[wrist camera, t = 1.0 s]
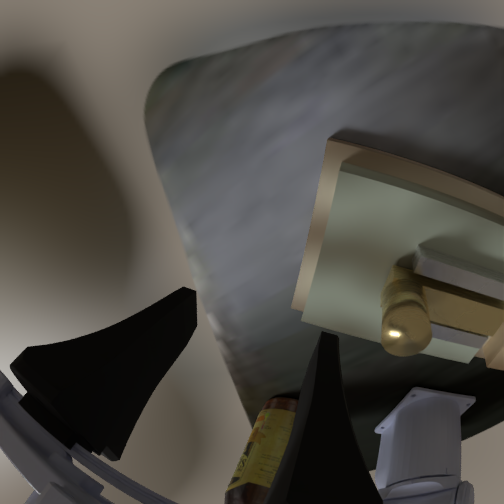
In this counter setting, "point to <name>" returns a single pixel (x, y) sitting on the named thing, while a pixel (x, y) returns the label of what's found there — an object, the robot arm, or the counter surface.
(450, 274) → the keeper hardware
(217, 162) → the counter surface
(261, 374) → the counter surface
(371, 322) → the door and jamb
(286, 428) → the sauce bottle
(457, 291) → the bolt
